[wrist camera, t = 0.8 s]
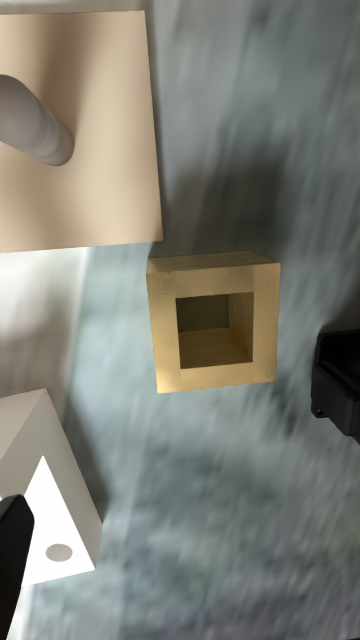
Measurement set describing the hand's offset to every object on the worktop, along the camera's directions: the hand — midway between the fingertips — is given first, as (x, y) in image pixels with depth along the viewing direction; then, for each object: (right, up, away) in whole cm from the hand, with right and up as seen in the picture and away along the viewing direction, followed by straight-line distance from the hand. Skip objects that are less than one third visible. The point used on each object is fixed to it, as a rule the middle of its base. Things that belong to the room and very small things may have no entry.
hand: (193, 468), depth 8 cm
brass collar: (+1, +5, +11) cm, 12 cm away
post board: (-7, +13, +8) cm, 16 cm away
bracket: (-11, -7, +15) cm, 20 cm away
